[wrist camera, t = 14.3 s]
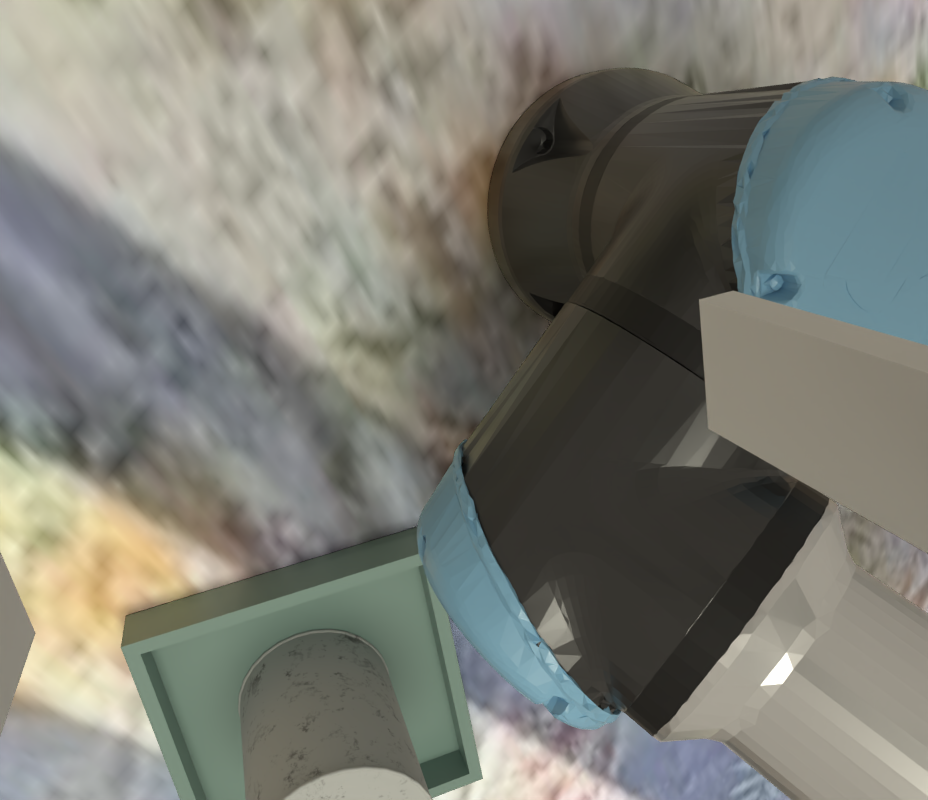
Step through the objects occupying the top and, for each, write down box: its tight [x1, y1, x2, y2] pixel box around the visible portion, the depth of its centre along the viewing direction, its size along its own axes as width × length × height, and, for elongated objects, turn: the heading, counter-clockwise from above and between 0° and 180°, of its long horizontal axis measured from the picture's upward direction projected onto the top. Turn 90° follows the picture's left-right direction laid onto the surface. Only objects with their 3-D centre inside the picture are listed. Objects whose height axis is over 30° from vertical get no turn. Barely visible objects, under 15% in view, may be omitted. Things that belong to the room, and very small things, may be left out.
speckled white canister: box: [238, 629, 433, 800], centre depth 46 cm, size 10×10×12 cm
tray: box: [121, 527, 483, 800], centre depth 51 cm, size 18×18×3 cm
